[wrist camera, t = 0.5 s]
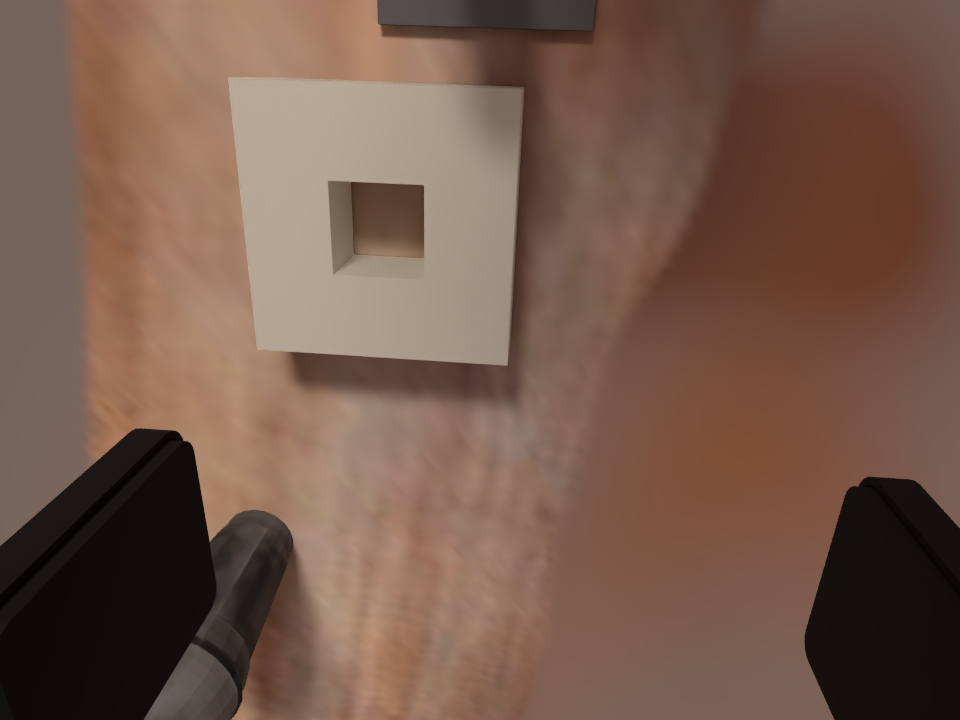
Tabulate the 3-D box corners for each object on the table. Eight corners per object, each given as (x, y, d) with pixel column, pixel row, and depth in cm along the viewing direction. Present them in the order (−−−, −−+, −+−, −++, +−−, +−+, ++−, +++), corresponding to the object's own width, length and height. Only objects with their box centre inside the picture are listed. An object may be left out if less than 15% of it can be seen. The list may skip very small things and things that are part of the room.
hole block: (262, 77, 33) (227, 77, 30) (524, 86, 32) (522, 88, 29) (284, 323, 38) (257, 349, 35) (510, 336, 38) (507, 365, 34)
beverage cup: (330, 568, 45) (187, 905, 27) (237, 590, 47) (41, 923, 28) (284, 480, 43) (90, 786, 24) (187, 506, 44) (-64, 813, 26)
